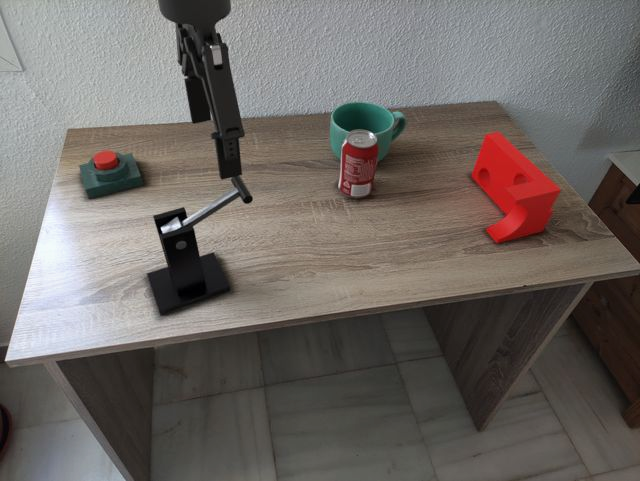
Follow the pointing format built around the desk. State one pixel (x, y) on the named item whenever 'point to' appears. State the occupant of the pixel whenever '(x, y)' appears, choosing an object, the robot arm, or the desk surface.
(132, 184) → the button box
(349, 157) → the soda can
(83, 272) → the desk surface
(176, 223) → the lever
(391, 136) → the mug
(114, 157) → the button
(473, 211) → the desk surface
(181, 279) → the bracket
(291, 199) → the desk surface
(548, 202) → the bracket
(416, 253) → the desk surface
